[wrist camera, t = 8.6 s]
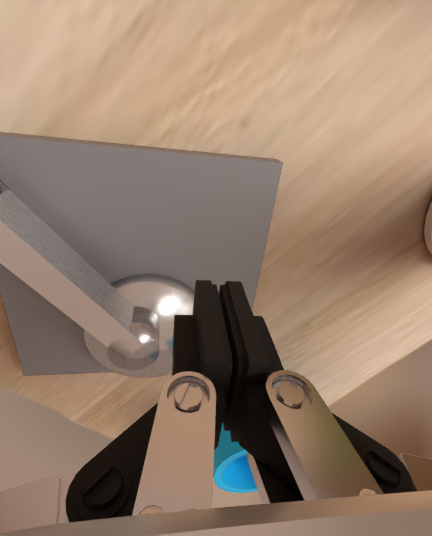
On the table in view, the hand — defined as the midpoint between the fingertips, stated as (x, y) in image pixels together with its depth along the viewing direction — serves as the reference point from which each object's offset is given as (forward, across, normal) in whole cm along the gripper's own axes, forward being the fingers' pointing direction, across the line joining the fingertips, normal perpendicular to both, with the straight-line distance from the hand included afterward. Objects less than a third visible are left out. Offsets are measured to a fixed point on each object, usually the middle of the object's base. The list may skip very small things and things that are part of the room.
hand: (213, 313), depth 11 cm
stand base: (+13, +4, +6) cm, 15 cm away
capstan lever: (+11, +7, +6) cm, 15 cm away
